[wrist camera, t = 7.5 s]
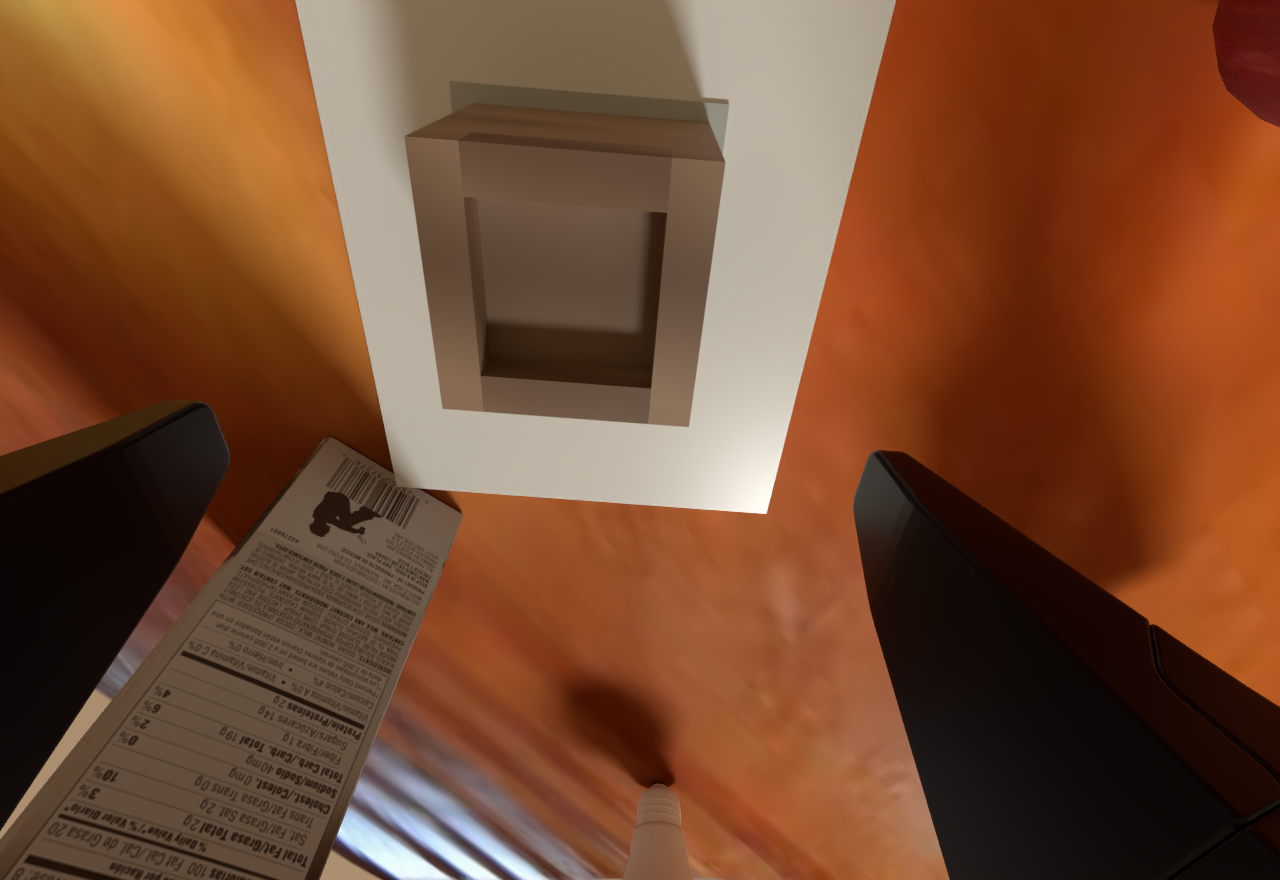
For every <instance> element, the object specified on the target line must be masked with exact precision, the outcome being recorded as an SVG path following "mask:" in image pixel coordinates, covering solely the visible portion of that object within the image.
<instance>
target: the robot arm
mask: <svg viewBox="0 0 1280 880" xmlns="http://www.w3.org/2000/svg"><path fill="white" fill-rule="evenodd" d="M229 462H230V453H229V449H228V446H227V444H226V441H225V439H224V436H223V434H222V431H221V429H220V426H219V424H218V421H217V419H216V416H215V414H214V412H213V410H212V408H211V407H210V406H209V405H208V404H206V403H204V402H201V401H189V400H169V401H165V402H162V403H159V404H156V405H153V406H150V407H147V408H144V409H141V410H138V411H135V412H132V413H129V414H126V415H123V416H120V417H117V418H114V419H111V420H108V421H105V422H102V423H99V424H96V425H93V426H90V427H87V428H84V429H81V430H78V431H75V432H72V433H68V434H65V435H62V436H59V437H56V438H53V439H50V440H47V441H44V442H41V443H38V444H35V445H32V446H29V447H26V448H23V449H20V450H17V451H14V452H11V453H8V454H5V455H2V456H0V831H1V829H2V828H3V826H4V825H5V823H6V822H7V820H8V819H9V817H10V816H11V814H12V812H13V811H14V810H15V808H16V807H17V805H18V803H19V802H20V801H21V799H22V798H23V796H24V795H25V793H26V792H27V790H28V789H29V787H30V786H31V784H32V783H33V781H34V780H35V778H36V777H37V775H38V774H39V772H40V771H41V769H42V768H43V766H44V765H45V763H46V762H47V760H48V759H49V757H50V756H51V754H52V753H53V751H54V750H55V748H56V747H57V745H58V743H59V742H60V741H61V739H62V738H63V736H64V735H65V733H66V731H67V730H68V729H69V727H70V725H71V724H72V722H73V721H74V720H75V718H76V717H77V715H78V714H79V712H80V710H81V709H82V708H83V706H84V704H85V703H86V701H87V700H88V698H89V697H90V695H91V694H92V692H93V691H94V689H95V688H96V686H97V685H98V683H99V682H100V680H101V679H102V677H103V676H104V674H105V673H106V671H107V670H108V668H109V667H110V665H111V664H112V662H113V661H114V659H115V658H116V656H117V655H118V653H119V652H120V650H121V649H122V647H123V646H124V644H125V643H126V641H127V640H128V638H129V637H130V635H131V634H132V632H133V631H134V629H135V628H136V626H137V625H138V623H139V622H140V620H141V619H142V617H143V616H144V614H145V613H146V611H147V610H148V608H149V607H150V605H151V604H152V602H153V601H154V599H155V598H156V596H157V595H158V593H159V592H160V590H161V589H162V587H163V586H164V584H165V583H166V581H167V580H168V578H169V577H170V575H171V574H172V572H173V570H174V569H175V567H176V566H177V564H178V562H179V561H180V559H181V557H182V555H183V554H184V552H185V550H186V548H187V546H188V544H189V543H190V541H191V539H192V537H193V535H194V533H195V531H196V529H197V527H198V525H199V523H200V521H201V519H202V518H203V516H204V514H205V512H206V510H207V508H208V506H209V504H210V502H211V500H212V498H213V496H214V494H215V493H216V491H217V489H218V487H219V485H220V483H221V481H222V479H223V477H224V475H225V473H226V471H227V469H228V466H229ZM853 512H854V518H855V524H856V530H857V536H858V542H859V548H860V554H861V560H862V566H863V572H864V578H865V584H866V590H867V595H868V600H869V605H870V610H871V614H872V617H873V621H874V625H875V628H876V632H877V635H878V638H879V642H880V645H881V649H882V652H883V655H884V659H885V662H886V666H887V669H888V672H889V676H890V679H891V682H892V686H893V689H894V693H895V696H896V699H897V703H898V706H899V710H900V713H901V716H902V720H903V723H904V726H905V730H906V733H907V737H908V740H909V743H910V747H911V750H912V754H913V757H914V760H915V764H916V767H917V770H918V774H919V777H920V781H921V784H922V787H923V791H924V794H925V798H926V801H927V804H928V808H929V811H930V814H931V818H932V821H933V825H934V828H935V831H936V835H937V838H938V842H939V845H940V848H941V852H942V855H943V858H944V862H945V865H946V869H947V872H948V875H949V879H950V880H1280V707H1279V706H1278V705H1276V704H1274V703H1273V702H1271V701H1270V700H1268V699H1266V698H1265V697H1263V696H1262V695H1260V694H1259V693H1257V692H1255V691H1254V690H1252V689H1251V688H1249V687H1247V686H1246V685H1244V684H1243V683H1241V682H1240V681H1238V680H1237V679H1235V678H1234V677H1232V676H1231V675H1229V674H1228V673H1226V672H1225V671H1223V670H1222V669H1220V668H1219V667H1217V666H1216V665H1214V664H1213V663H1211V662H1210V661H1208V660H1207V659H1205V658H1204V657H1202V656H1201V655H1199V654H1198V653H1196V652H1195V651H1193V650H1192V649H1190V648H1189V647H1187V646H1186V645H1185V644H1183V643H1182V642H1180V641H1179V640H1177V639H1176V638H1174V637H1173V636H1172V635H1170V634H1169V633H1167V632H1166V631H1164V630H1163V629H1162V628H1160V627H1159V626H1157V625H1149V621H1148V619H1147V618H1145V617H1144V616H1142V615H1141V614H1139V613H1138V612H1136V611H1135V610H1134V609H1132V608H1131V607H1129V606H1128V605H1126V604H1125V603H1123V602H1122V601H1120V600H1119V599H1117V598H1116V597H1115V596H1113V595H1112V594H1110V593H1109V592H1107V591H1106V590H1104V589H1103V588H1101V587H1100V586H1099V585H1097V584H1096V583H1094V582H1093V581H1091V580H1090V579H1088V578H1087V577H1085V576H1084V575H1082V574H1081V573H1080V572H1078V571H1077V570H1075V569H1074V568H1072V567H1071V566H1069V565H1068V564H1066V563H1065V562H1064V561H1062V560H1061V559H1059V558H1058V557H1056V556H1055V555H1053V554H1052V553H1050V552H1049V551H1047V550H1046V549H1045V548H1043V547H1042V546H1040V545H1039V544H1037V543H1036V542H1034V541H1033V540H1031V539H1030V538H1029V537H1027V536H1026V535H1024V534H1023V533H1021V532H1020V531H1018V530H1017V529H1015V528H1014V527H1013V526H1011V525H1010V524H1008V523H1007V522H1005V521H1004V520H1002V519H1001V518H999V517H998V516H996V515H995V514H994V513H992V512H991V511H989V510H988V509H986V508H985V507H983V506H982V505H980V504H979V503H978V502H976V501H975V500H973V499H972V498H970V497H969V496H967V495H966V494H964V493H963V492H961V491H960V490H959V489H957V488H956V487H954V486H953V485H951V484H950V483H948V482H947V481H945V480H944V479H943V478H941V477H940V476H938V475H937V474H935V473H934V472H932V471H931V470H929V469H928V468H927V467H925V466H924V465H922V464H921V463H919V462H918V461H916V460H915V459H913V458H912V457H910V456H909V455H908V454H906V453H904V452H899V451H884V450H876V451H874V452H872V453H871V454H870V456H869V457H868V460H867V462H866V465H865V468H864V471H863V474H862V476H861V479H860V482H859V485H858V488H857V491H856V494H855V497H854V504H853Z"/></svg>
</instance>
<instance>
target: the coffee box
mask: <svg viewBox="0 0 1280 880" xmlns="http://www.w3.org/2000/svg"><path fill="white" fill-rule="evenodd" d="M462 518H463V517H462V514H461V513H460V512H458V511H456V510H455V509H453V508H451V507H449V506H448V505H446V504H444V503H442V502H441V501H439V500H437V499H436V498H434V497H432V496H431V495H429V494H427V493H426V492H424V491H422V490H421V489H419V488H407V487H397V485H396V480H395V475H394V473H392V472H390V471H389V470H387V469H385V468H383V467H382V466H380V465H378V464H377V463H375V462H373V461H372V460H370V459H368V458H367V457H365V456H363V455H362V454H360V453H358V452H356V451H355V450H353V449H351V448H350V447H348V446H346V445H345V444H343V443H341V442H340V441H338V440H336V439H334V438H332V437H326V438H324V439H323V440H322V441H321V442H320V444H319V445H318V446H317V447H316V449H315V450H314V451H313V452H312V453H311V455H310V456H309V457H308V458H307V460H306V461H305V462H304V464H303V465H302V466H301V467H300V469H299V470H298V471H297V472H296V474H295V475H294V476H293V477H292V478H291V480H290V481H289V482H288V483H287V485H286V486H285V487H284V488H283V490H282V491H281V492H280V493H279V495H278V496H277V497H276V498H275V500H274V501H273V502H272V503H271V504H270V506H269V507H268V508H267V509H266V510H265V512H264V513H263V514H262V515H261V517H260V518H259V519H258V520H257V522H256V523H255V524H254V525H253V526H252V528H251V529H250V530H249V531H248V533H247V534H246V535H245V536H244V538H243V539H242V540H241V541H240V543H239V544H238V545H237V546H236V548H235V549H234V550H233V551H232V553H231V554H230V555H229V556H228V557H227V559H226V560H225V561H224V562H223V564H222V565H221V566H220V567H219V568H218V570H217V571H216V572H215V573H214V575H213V576H212V577H211V578H210V580H209V581H208V582H207V583H206V585H205V586H204V587H203V588H202V590H201V591H200V592H199V593H198V595H197V596H196V597H195V598H194V599H193V601H192V602H191V603H190V604H189V606H188V607H187V608H186V609H185V611H184V612H183V613H182V614H181V616H180V617H179V618H178V619H177V621H176V622H175V623H174V624H173V626H172V627H171V628H170V629H169V631H168V632H167V633H166V634H165V635H164V637H163V638H162V639H161V640H160V641H159V643H158V644H157V645H156V646H155V648H154V649H153V650H152V651H151V653H150V654H149V655H148V656H147V658H146V659H145V660H144V661H143V663H142V664H141V665H140V666H139V668H138V669H137V670H136V671H135V673H134V674H133V675H132V676H131V678H130V679H129V680H128V681H127V683H126V684H125V685H124V686H123V688H122V689H121V690H120V691H119V692H118V694H117V695H116V696H115V697H114V699H113V700H112V701H111V702H110V704H109V705H108V706H107V707H106V708H105V710H104V711H103V712H102V713H101V715H100V716H99V717H98V718H97V720H96V721H95V722H94V723H93V724H92V726H91V727H90V728H89V730H88V731H87V732H86V733H85V735H84V736H83V737H82V738H81V740H80V741H79V742H78V743H77V745H76V746H75V747H74V748H73V750H72V751H71V752H70V753H69V754H68V756H67V757H66V758H65V759H64V761H63V762H62V763H61V765H60V766H59V767H58V768H57V770H56V771H55V772H54V773H53V774H52V776H51V777H50V778H49V780H48V781H47V782H46V783H45V785H44V786H43V787H42V788H41V789H40V791H39V792H38V793H37V794H36V796H35V797H34V798H33V800H32V801H31V802H30V803H29V805H28V806H27V807H26V808H25V809H24V811H23V812H22V813H21V814H20V816H19V817H18V818H17V819H16V821H15V822H14V823H13V824H12V826H11V827H10V828H9V829H8V831H7V832H6V833H5V834H4V836H3V837H2V838H1V839H0V880H319V879H320V877H321V874H322V872H323V869H324V867H325V864H326V861H327V859H328V857H329V854H330V851H331V849H332V846H333V844H334V841H335V839H336V836H337V834H338V831H339V829H340V826H341V824H342V821H343V818H344V816H345V813H346V811H347V808H348V806H349V803H350V801H351V798H352V796H353V793H354V791H355V788H356V785H357V783H358V780H359V778H360V775H361V773H362V770H363V768H364V765H365V763H366V760H367V758H368V755H369V752H370V750H371V747H372V745H373V742H374V740H375V737H376V735H377V732H378V730H379V727H380V725H381V722H382V720H383V717H384V715H385V712H386V710H387V707H388V705H389V702H390V700H391V697H392V695H393V692H394V690H395V687H396V685H397V682H398V680H399V677H400V675H401V672H402V670H403V667H404V665H405V662H406V660H407V657H408V655H409V652H410V649H411V647H412V644H413V642H414V639H415V637H416V634H417V632H418V629H419V627H420V624H421V622H422V620H423V617H424V615H425V611H426V609H427V607H428V605H429V602H430V600H431V598H432V595H433V592H434V590H435V587H436V585H437V582H438V580H439V577H440V575H441V572H442V570H443V567H444V565H445V562H446V560H447V557H448V555H449V552H450V549H451V547H452V544H453V541H454V539H455V536H456V534H457V531H458V529H459V526H460V523H461V521H462Z"/></svg>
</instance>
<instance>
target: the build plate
mask: <svg viewBox="0 0 1280 880" xmlns="http://www.w3.org/2000/svg"><path fill="white" fill-rule="evenodd" d="M295 1H296V6H297V11H298V15H299V20H300V25H301V30H302V35H303V39H304V44H305V49H306V54H307V58H308V63H309V68H310V73H311V78H312V82H313V87H314V92H315V97H316V102H317V106H318V111H319V116H320V121H321V126H322V130H323V135H324V140H325V145H326V150H327V154H328V159H329V164H330V169H331V173H332V178H333V183H334V188H335V193H336V197H337V202H338V207H339V212H340V217H341V221H342V226H343V231H344V236H345V241H346V245H347V250H348V255H349V260H350V265H351V269H352V274H353V279H354V284H355V288H356V293H357V298H358V303H359V308H360V312H361V317H362V322H363V327H364V332H365V336H366V341H367V346H368V351H369V356H370V360H371V365H372V370H373V375H374V380H375V384H376V389H377V394H378V399H379V404H380V408H381V413H382V418H383V423H384V427H385V432H386V437H387V442H388V447H389V451H390V456H391V461H392V466H393V471H394V475H395V480H396V485H397V487H407V488H421V489H435V490H448V491H462V492H476V493H489V494H503V495H516V496H530V497H544V498H557V499H571V500H585V501H598V502H612V503H626V504H639V505H653V506H666V507H680V508H694V509H707V510H721V511H735V512H748V513H762V514H766V513H767V509H768V505H769V501H770V497H771V493H772V489H773V485H774V481H775V478H776V474H777V470H778V466H779V462H780V458H781V454H782V450H783V446H784V442H785V438H786V434H787V430H788V426H789V422H790V418H791V414H792V410H793V406H794V402H795V398H796V394H797V390H798V387H799V383H800V379H801V375H802V371H803V367H804V363H805V359H806V355H807V351H808V347H809V343H810V339H811V335H812V331H813V327H814V323H815V319H816V315H817V311H818V307H819V303H820V299H821V295H822V292H823V288H824V284H825V280H826V276H827V272H828V268H829V264H830V260H831V256H832V252H833V248H834V244H835V240H836V236H837V232H838V228H839V224H840V220H841V216H842V212H843V208H844V204H845V200H846V197H847V193H848V189H849V185H850V181H851V177H852V173H853V169H854V165H855V161H856V157H857V153H858V149H859V145H860V141H861V137H862V133H863V129H864V125H865V121H866V117H867V113H868V109H869V105H870V102H871V98H872V94H873V90H874V86H875V82H876V78H877V74H878V70H879V66H880V62H881V58H882V54H883V50H884V46H885V42H886V38H887V34H888V30H889V26H890V22H891V18H892V14H893V10H894V7H895V3H896V0H295ZM472 103H477V104H489V105H501V106H514V107H526V108H538V109H551V110H563V111H575V112H587V113H600V114H612V115H624V116H637V117H649V118H661V119H674V120H686V121H698V122H709V123H710V126H711V128H712V130H713V133H714V135H715V138H716V140H717V143H718V145H719V147H720V150H721V152H722V155H723V157H724V160H725V170H724V177H723V184H722V191H721V199H720V206H719V213H718V220H717V228H716V235H715V242H714V249H713V257H712V264H711V271H710V278H709V285H708V293H707V300H706V307H705V314H704V322H703V329H702V336H701V343H700V351H699V358H698V365H697V372H696V380H695V387H694V394H693V401H692V409H691V416H690V423H689V427H680V426H666V425H653V424H639V423H626V422H612V421H599V420H586V419H572V418H559V417H545V416H532V415H518V414H505V413H492V412H478V411H465V410H451V409H442V402H441V395H440V387H439V380H438V373H437V366H436V359H435V352H434V345H433V338H432V330H431V323H430V316H429V309H428V302H427V295H426V288H425V281H424V273H423V266H422V259H421V252H420V245H419V238H418V231H417V224H416V216H415V209H414V202H413V195H412V188H411V181H410V174H409V167H408V159H407V152H406V145H405V138H404V136H406V135H408V134H410V133H412V132H414V131H416V130H418V129H420V128H423V127H425V126H427V125H429V124H431V123H433V122H435V121H437V120H439V119H441V118H443V117H445V116H447V115H450V114H452V113H454V112H456V111H458V110H460V109H462V108H464V107H466V106H468V105H470V104H472Z"/></svg>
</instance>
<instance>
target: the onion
mask: <svg viewBox="0 0 1280 880" xmlns="http://www.w3.org/2000/svg"><path fill="white" fill-rule="evenodd" d="M1213 34H1214V41H1215V48H1216V55H1217V62H1218V69H1219V72H1220V75H1221V77H1222V79H1223V82H1224V84H1225V86H1226V89H1227V90H1228V91H1229V92H1230V93H1231V94H1232V95H1233V96H1234V97H1236V98H1237V99H1238V100H1239V101H1240V102H1241V103H1242V104H1244V105H1245V106H1246V107H1247V108H1248V109H1249V110H1250V111H1252V112H1253V113H1254V114H1255V115H1256V116H1257V117H1258V118H1260V119H1262V120H1264V121H1266V122H1269V123H1271V124H1273V125H1276V126H1278V127H1280V0H1219V4H1218V8H1217V12H1216V15H1215V19H1214V23H1213Z"/></svg>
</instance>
